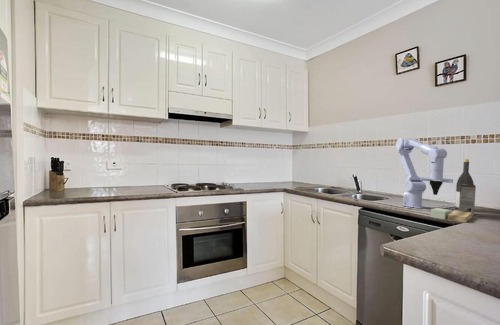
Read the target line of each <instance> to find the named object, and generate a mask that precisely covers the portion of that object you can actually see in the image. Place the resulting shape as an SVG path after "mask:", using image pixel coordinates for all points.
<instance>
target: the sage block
mask: <svg viewBox="0 0 500 325" xmlns="http://www.w3.org/2000/svg"><path fill="white" fill-rule="evenodd" d="M449 213H451V209H447V208H446V209H445V208H440V207H436V208H434V207H433V208H431V209H430V218H436V219H441V220H448V219H447V218H448V214H449Z"/></svg>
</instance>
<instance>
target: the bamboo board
mask: <svg viewBox="0 0 500 325" xmlns="http://www.w3.org/2000/svg"><path fill="white" fill-rule="evenodd" d="M472 217H473V216H472V213H470V212H463V211H459V210H457V209H454V210H453V211H450V213H449V214H448V218H447V219H446V220H447V221H448V220H449V221H454V222H455V221H456V222H462V223H467V222H469V220H471V219H472Z"/></svg>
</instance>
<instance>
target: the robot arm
mask: <svg viewBox="0 0 500 325" xmlns="http://www.w3.org/2000/svg"><path fill="white" fill-rule="evenodd" d="M395 147H396V151H397V154H398V157H399V160H400V163H401V166H402V167H403V171H404V173H405V176H406V178H405V180H404V185H405V186H404V187H405V188H404V189H405V190H406V191H404V192H403V194H402V195H403V196H402V199H403V200H402V207H408V208H413V207H414V208H415V209H423V208H424V207H425V206H424V205H423V204H422V203H423V194H424V192H425V191H426V190H427V185H426V181H427V182H428V183H429V185H430V187H431V190H432V194H433V196H437V195H438V193H439V190H440V188H441V186H442V185H443V183H449V184H453V183H454V179H453V178H444V164H445V163H444V162H445V161H444V160H445V158H446V157H447V155H448V154H447V153H448V152H447V150H446V149H445V148H443V147H442V148H439V147H438V146H436V145H435V146H434V145H432V144H431V143H430V142H428V143H422V142H420V141H418V140H417V139H415V138H403V137H402V138H401V137H399V138H397V139H396V142H395ZM414 148H416V149H419V151H420V152H421V154H425V155H426V156H428V157H429V161H430V172H429V173H430V174H429V176H428V177H427V176H420V177H419V176H418V175H417V172H416V169H415V166H414V165H413V162H412V160H411V157H410V155H409V154H411V153H412V152H413V150H414Z"/></svg>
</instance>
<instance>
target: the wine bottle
mask: <svg viewBox="0 0 500 325" xmlns="http://www.w3.org/2000/svg"><path fill="white" fill-rule="evenodd" d="M469 161H470V159H468V158H466V159H465V158H464V160H463V170H462V173H461V175H459V178H458V179H457V182H456V184H455V185H456V186H455V187H456V188H455V202H454V203H455V205H454V208H455V209H454V210H456V211H459V196H460V184H470V185H475V182H474V180H473V177H472V175H471V174H470V173H469V170H470V162H469Z"/></svg>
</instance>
